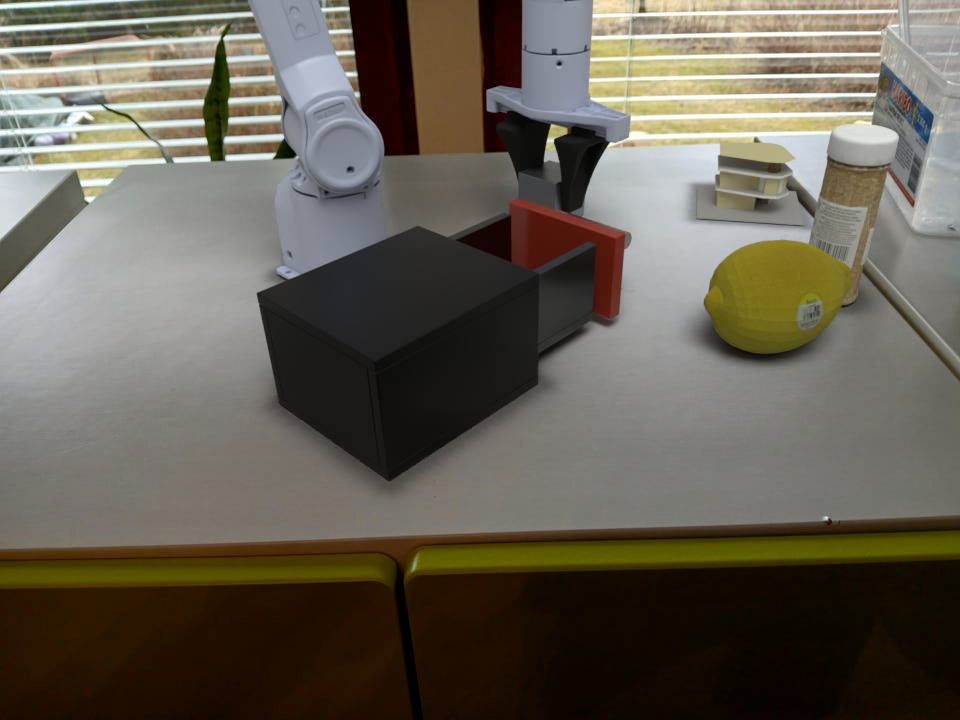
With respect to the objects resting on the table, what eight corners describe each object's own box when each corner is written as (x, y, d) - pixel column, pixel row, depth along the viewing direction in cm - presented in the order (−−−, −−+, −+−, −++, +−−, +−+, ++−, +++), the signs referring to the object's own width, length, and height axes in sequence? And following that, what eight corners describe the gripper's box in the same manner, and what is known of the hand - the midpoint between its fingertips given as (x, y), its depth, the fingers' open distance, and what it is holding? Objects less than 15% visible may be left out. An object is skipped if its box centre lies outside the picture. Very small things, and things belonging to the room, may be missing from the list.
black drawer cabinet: (425, 327, 62) (417, 224, 57) (538, 383, 55) (540, 273, 50) (278, 403, 54) (255, 292, 49) (389, 481, 47) (374, 361, 42)
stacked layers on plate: (696, 218, 78) (703, 164, 75) (697, 185, 85) (704, 135, 82) (804, 225, 76) (815, 170, 73) (795, 191, 83) (806, 139, 80)
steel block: (517, 217, 74) (518, 172, 72) (548, 204, 77) (549, 159, 74) (554, 230, 71) (555, 183, 69) (584, 215, 74) (586, 170, 72)
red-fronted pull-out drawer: (550, 257, 70) (552, 183, 66) (650, 294, 63) (658, 215, 60) (408, 330, 60) (401, 248, 56) (510, 383, 54) (509, 295, 50)
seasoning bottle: (868, 297, 64) (914, 132, 57) (832, 314, 62) (875, 144, 54) (820, 276, 67) (857, 117, 60) (784, 291, 65) (818, 129, 58)
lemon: (710, 377, 55) (727, 274, 51) (680, 321, 62) (692, 225, 57) (863, 368, 56) (892, 266, 51) (816, 313, 62) (839, 218, 58)
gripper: (657, 51, 64) (642, 209, 71) (522, 29, 72) (521, 172, 80) (604, 67, 60) (594, 234, 67) (468, 42, 68) (472, 192, 76)
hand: (551, 202), depth 73 cm, fingers closed on steel block, 4 cm apart
